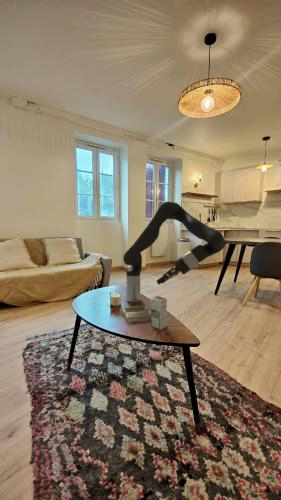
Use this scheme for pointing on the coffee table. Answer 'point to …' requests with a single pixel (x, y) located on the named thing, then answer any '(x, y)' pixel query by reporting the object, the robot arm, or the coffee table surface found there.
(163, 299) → the syrup box
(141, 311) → the wooden tray
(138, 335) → the coffee table surface
